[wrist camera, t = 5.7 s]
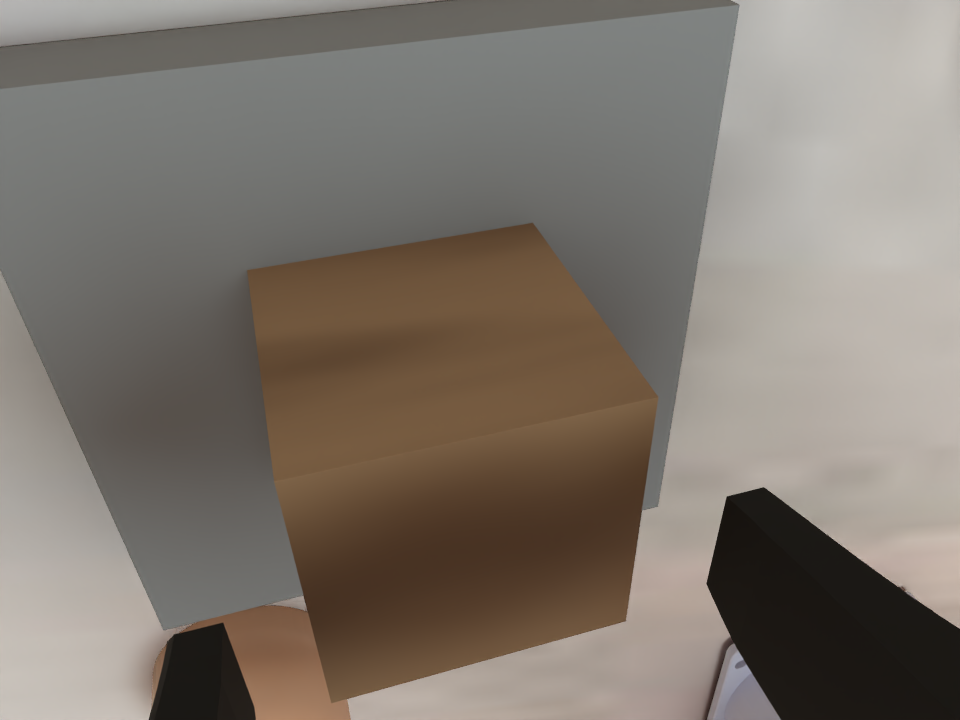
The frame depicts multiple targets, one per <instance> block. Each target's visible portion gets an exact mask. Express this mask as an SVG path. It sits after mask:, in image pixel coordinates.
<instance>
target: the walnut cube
mask: <svg viewBox="0 0 960 720" xmlns="http://www.w3.org/2000/svg"><path fill="white" fill-rule="evenodd" d="M247 273H248V281H249V289H250V297H251V305H252V312H253V320H254V328H255V336H256V344H257V352H258V359H259V367H260V375H261V383H262V391H263V399H264V406H265V414H266V422H267V430H268V438H269V445H270V453H271V461H272V469H273V477H274V483H275V487H276V491H277V495H278V499H279V502H280V506H281V510H282V514H283V518H284V522H285V526H286V530H287V533H288V537H289V541H290V545H291V549H292V553H293V557H294V561H295V564H296V568H297V572H298V576H299V580H300V584H301V588H302V592H303V595H304V599H305V603H306V607H307V611H308V615H309V619H310V623H311V626H312V630H313V634H314V638H315V642H316V646H317V650H318V653H319V657H320V661H321V665H322V669H323V673H324V677H325V681H326V684H327V688H328V692H329V696H330V700H331V703H334V702H338V701H342V700H345V699H349V698H352V697H356V696H359V695H363V694H367V693H370V692H374V691H377V690H381V689H384V688H388V687H392V686H395V685H399V684H402V683H406V682H410V681H413V680H417V679H420V678H424V677H427V676H431V675H435V674H438V673H442V672H445V671H449V670H452V669H456V668H460V667H463V666H467V665H470V664H474V663H478V662H481V661H485V660H488V659H492V658H495V657H499V656H503V655H506V654H510V653H513V652H517V651H520V650H524V649H528V648H531V647H535V646H538V645H542V644H545V643H549V642H553V641H556V640H560V639H563V638H567V637H571V636H574V635H578V634H581V633H585V632H588V631H592V630H596V629H599V628H603V627H606V626H610V625H613V624H617V623H621V622H624V621H626V615H627V609H628V602H629V595H630V588H631V581H632V574H633V568H634V561H635V554H636V547H637V540H638V533H639V527H640V520H641V513H642V506H643V499H644V493H645V486H646V479H647V472H648V465H649V458H650V452H651V445H652V438H653V431H654V424H655V417H656V411H657V404H658V396H657V394H656V393H655V392H654V390H653V389H652V387H651V386H650V385H649V383H648V382H647V381H646V379H645V378H644V376H643V375H642V374H641V372H640V371H639V369H638V368H637V367H636V365H635V364H634V362H633V361H632V360H631V358H630V357H629V356H628V354H627V353H626V351H625V350H624V349H623V347H622V346H621V344H620V343H619V342H618V340H617V339H616V337H615V336H614V335H613V333H612V332H611V331H610V329H609V328H608V326H607V325H606V324H605V322H604V321H603V319H602V318H601V317H600V315H599V314H598V312H597V311H596V310H595V308H594V307H593V306H592V304H591V303H590V301H589V300H588V299H587V297H586V296H585V294H584V293H583V292H582V290H581V289H580V287H579V286H578V285H577V283H576V282H575V281H574V279H573V278H572V276H571V275H570V274H569V272H568V271H567V269H566V268H565V267H564V265H563V264H562V262H561V261H560V260H559V258H558V257H557V256H556V254H555V253H554V251H553V250H552V249H551V247H550V246H549V244H548V243H547V242H546V240H545V239H544V237H543V236H542V235H541V233H540V232H539V231H538V229H537V228H536V226H535V225H534V224H533V223H529V224H523V225H517V226H511V227H504V228H498V229H492V230H486V231H480V232H474V233H468V234H462V235H456V236H450V237H444V238H438V239H432V240H426V241H420V242H414V243H408V244H402V245H396V246H390V247H384V248H378V249H372V250H366V251H360V252H353V253H347V254H341V255H335V256H329V257H323V258H317V259H311V260H305V261H299V262H293V263H287V264H281V265H275V266H269V267H263V268H257V269H251V270H247Z"/></svg>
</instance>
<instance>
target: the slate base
mask: <svg viewBox="0 0 960 720" xmlns="http://www.w3.org/2000/svg"><path fill="white" fill-rule="evenodd" d="M738 11H739V4H737V3H735V2H733V1H731V0H451V1H441V2H432V3H422V4H412V5H403V6H393V7H384V8H374V9H364V10H355V11H345V12H336V13H326V14H316V15H307V16H297V17H288V18H278V19H268V20H259V21H249V22H240V23H230V24H220V25H211V26H201V27H192V28H182V29H172V30H163V31H153V32H144V33H134V34H124V35H115V36H105V37H96V38H86V39H76V40H67V41H57V42H48V43H38V44H28V45H19V46H9V47H0V270H1V272H2V274H3V277H4V279H5V281H6V283H7V285H8V288H9V290H10V292H11V294H12V296H13V299H14V301H15V303H16V305H17V307H18V310H19V312H20V314H21V316H22V318H23V321H24V323H25V325H26V327H27V330H28V332H29V334H30V336H31V338H32V341H33V343H34V345H35V347H36V349H37V352H38V354H39V356H40V358H41V360H42V363H43V365H44V367H45V369H46V372H47V374H48V376H49V378H50V380H51V383H52V385H53V387H54V389H55V391H56V394H57V396H58V398H59V400H60V402H61V405H62V407H63V409H64V411H65V414H66V416H67V418H68V420H69V422H70V425H71V427H72V429H73V431H74V433H75V436H76V438H77V440H78V442H79V444H80V447H81V449H82V451H83V453H84V455H85V458H86V460H87V462H88V464H89V467H90V469H91V471H92V473H93V475H94V478H95V480H96V482H97V484H98V486H99V489H100V491H101V493H102V495H103V497H104V500H105V502H106V504H107V506H108V509H109V511H110V513H111V515H112V517H113V520H114V522H115V524H116V526H117V528H118V531H119V533H120V535H121V537H122V539H123V542H124V544H125V546H126V548H127V551H128V553H129V555H130V557H131V559H132V562H133V564H134V566H135V568H136V570H137V573H138V575H139V577H140V579H141V581H142V584H143V586H144V588H145V590H146V592H147V595H148V597H149V599H150V601H151V604H152V606H153V608H154V610H155V612H156V615H157V617H158V619H159V621H160V623H161V626H162V628H163V630H167V629H171V628H175V627H179V626H183V625H187V624H191V623H195V622H199V621H203V620H207V619H211V618H215V617H219V616H223V615H227V614H231V613H235V612H239V611H243V610H247V609H251V608H255V607H259V606H263V605H267V604H271V603H275V602H279V601H283V600H287V599H291V598H295V597H299V596H303V592H302V588H301V584H300V580H299V576H298V572H297V568H296V564H295V561H294V557H293V553H292V549H291V545H290V541H289V537H288V533H287V530H286V526H285V522H284V518H283V514H282V510H281V506H280V502H279V499H278V495H277V491H276V487H275V483H274V477H273V469H272V461H271V453H270V445H269V438H268V430H267V422H266V414H265V406H264V399H263V391H262V383H261V375H260V367H259V359H258V352H257V344H256V336H255V328H254V320H253V312H252V305H251V297H250V289H249V281H248V273H247V270H251V269H257V268H263V267H269V266H275V265H281V264H287V263H293V262H299V261H305V260H311V259H317V258H323V257H329V256H335V255H341V254H347V253H353V252H360V251H366V250H372V249H378V248H384V247H390V246H396V245H402V244H408V243H414V242H420V241H426V240H432V239H438V238H444V237H450V236H456V235H462V234H468V233H474V232H480V231H486V230H492V229H498V228H504V227H511V226H517V225H523V224H529V223H533V224H534V225H535V226H536V228H537V229H538V231H539V232H540V233H541V235H542V236H543V237H544V239H545V240H546V242H547V243H548V244H549V246H550V247H551V249H552V250H553V251H554V253H555V254H556V256H557V257H558V258H559V260H560V261H561V262H562V264H563V265H564V267H565V268H566V269H567V271H568V272H569V274H570V275H571V276H572V278H573V279H574V281H575V282H576V283H577V285H578V286H579V287H580V289H581V290H582V292H583V293H584V294H585V296H586V297H587V299H588V300H589V301H590V303H591V304H592V306H593V307H594V308H595V310H596V311H597V312H598V314H599V315H600V317H601V318H602V319H603V321H604V322H605V324H606V325H607V326H608V328H609V329H610V331H611V332H612V333H613V335H614V336H615V337H616V339H617V340H618V342H619V343H620V344H621V346H622V347H623V349H624V350H625V351H626V353H627V354H628V356H629V357H630V358H631V360H632V361H633V362H634V364H635V365H636V367H637V368H638V369H639V371H640V372H641V374H642V375H643V376H644V378H645V379H646V381H647V382H648V383H649V385H650V386H651V387H652V389H653V390H654V392H655V393H656V394H657V396H658V404H657V411H656V417H655V424H654V431H653V438H652V445H651V452H650V458H649V465H648V472H647V479H646V486H645V493H644V499H643V506H642V510H646V509H650V508H654V507H658V503H659V496H660V490H661V484H662V478H663V472H664V466H665V460H666V453H667V447H668V441H669V435H670V429H671V423H672V417H673V410H674V404H675V398H676V392H677V386H678V380H679V374H680V367H681V361H682V355H683V349H684V343H685V337H686V331H687V324H688V318H689V312H690V306H691V300H692V294H693V288H694V281H695V275H696V269H697V263H698V257H699V251H700V245H701V239H702V232H703V226H704V220H705V214H706V208H707V202H708V196H709V189H710V183H711V177H712V171H713V165H714V159H715V153H716V146H717V140H718V134H719V128H720V122H721V116H722V110H723V103H724V97H725V91H726V85H727V79H728V73H729V67H730V60H731V54H732V48H733V42H734V36H735V30H736V24H737V18H738Z"/></svg>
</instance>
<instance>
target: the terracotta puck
mask: <svg viewBox="0 0 960 720" xmlns="http://www.w3.org/2000/svg"><path fill="white" fill-rule="evenodd" d="M219 623H224V626H225V629H226V631H227V634H228V637H229V640H230V642H231V645H232V648H233V650H234V653H235V656H236V658H237V661H238V664H239V667H240V669H241V672H242V675H243V677H244V680H245V683H246V686H247V688H248V691H249V694H250V696H251V699H252V702H253V704H254V708H255V716H256V720H351V719H350V713H349V707H348V702H347V699H345V700H342V701H338V702H334V703H331V700H330V696H329V692H328V688H327V684H326V681H325V677H324V673H323V669H322V665H321V661H320V657H319V653H318V650H317V646H316V642H315V638H314V634H313V630H312V626H311V623H310V619H309V615H308V612H306V611H303V610H300V609H296V608H291V607H284V606H259V607H255V608H251V609H247V610H243V611H239V612H235V613H231V614H227V615H223V616H219V617H215V618H211V619H207V620H203V621H199V622H197V623H195V624H193V625H191V626H190V627H188V628H186V629H185V630H183V631H182V632H180V633H183V632H187V631H191V630H195V629H199V628H203V627H207V626H211V625H215V624H219ZM166 646H167V644H166ZM166 646H165V647H164V648H163V649H162V651H161V652H160V654H159V655H158V657H157V659H156V661H155V664H154V668H153V681H152V706H153V702H154V698H155V694H156V691H157V687H158V682H159V678H160V674H161V670H162V666H163V661H164V656H165V651H166Z"/></svg>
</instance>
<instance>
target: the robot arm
mask: <svg viewBox="0 0 960 720" xmlns="http://www.w3.org/2000/svg"><path fill="white" fill-rule="evenodd" d="M707 586H708V588H709V591H710V593H711V595H712V597H713V599H714V602H715V604H716V606H717V608H718V610H719V613H720V615H721V617H722V619H723V621H724V623H725V625H726V627H727V629H728V632H729V634H730V636H731V638H732V640H733V642H734V643H733V644H732V645H731V646H730V647H729V648H728V649H727V652H726V655H725V659H724V662H723V666H722V669H721V673H720V676H719V680H718V683H717V687H716V690H715V694H714V697H713V701H712V704H711V707H710V711H709V714H708V718H707V720H960V629H959V628H957V627H956V626H954V625H953V624H951V623H950V622H948V621H947V620H945V619H943V618H942V617H941V616H939V615H938V614H936V613H935V612H933V611H932V610H930V609H929V608H927V607H926V606H924V605H923V604H921V603H920V602H919V601H917V600H916V599H915V597H914V596H913V595H912V594H911V593H909V592H904V591H903V590H902V589H900V588H899V587H897V586H896V585H895V584H893V583H892V582H890V581H889V580H888V579H886V578H885V577H883V576H882V575H880V574H879V573H878V572H876V571H875V570H874V569H872V568H871V567H869V566H868V565H867V564H865V563H864V562H863V561H861V560H860V559H859V558H857V557H856V556H854V555H853V554H852V553H850V552H849V551H848V550H846V549H845V548H844V547H842V546H841V545H840V544H838V543H837V542H836V541H834V540H833V539H832V538H830V537H829V536H828V535H826V534H825V533H824V532H822V531H821V530H820V529H819V528H817V527H816V526H815V525H813V524H812V523H811V522H809V521H808V520H807V519H805V518H804V517H803V516H801V515H800V514H799V513H797V512H796V511H795V510H793V509H792V508H791V507H790V506H788V505H787V504H786V503H784V502H783V501H782V500H780V499H779V498H778V497H776V496H775V495H774V494H772V493H771V492H769V491H768V490H767V489H765V488H764V487H763V488H759V489H755V490H751V491H747V492H743V493H739V494H735V495H731V496H727V498H726V502H725V507H724V511H723V515H722V519H721V524H720V528H719V532H718V537H717V541H716V545H715V550H714V554H713V558H712V562H711V567H710V571H709V575H708V580H707ZM149 720H256V716H255V708H254V704H253V702H252V699H251V696H250V694H249V691H248V688H247V686H246V683H245V680H244V677H243V675H242V672H241V669H240V667H239V664H238V661H237V658H236V656H235V653H234V650H233V648H232V645H231V642H230V640H229V637H228V634H227V631H226V629H225V626H224V623H219V624H215V625H211V626H207V627H203V628H199V629H195V630H191V631H187V632H183V633H179V634H175V635H173V637H172V638H171V639H170V640H169V641H168V642H167V646H166V651H165V656H164V661H163V666H162V670H161V674H160V678H159V682H158V687H157V691H156V694H155V698H154V702H153V706H152V709H151V713H150V717H149Z"/></svg>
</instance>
